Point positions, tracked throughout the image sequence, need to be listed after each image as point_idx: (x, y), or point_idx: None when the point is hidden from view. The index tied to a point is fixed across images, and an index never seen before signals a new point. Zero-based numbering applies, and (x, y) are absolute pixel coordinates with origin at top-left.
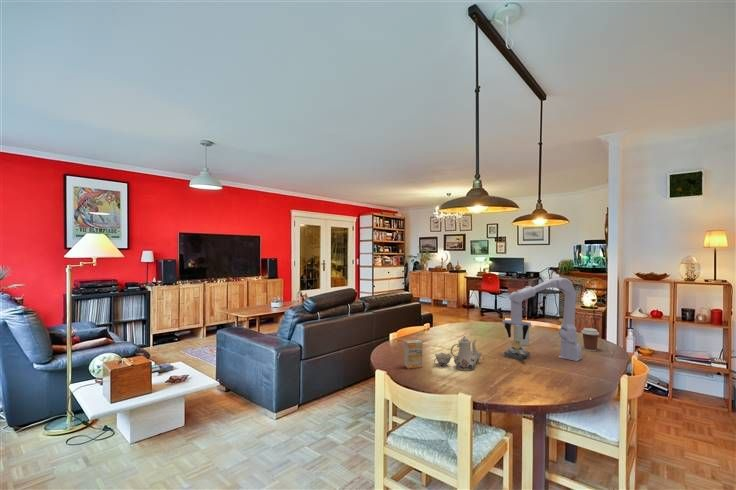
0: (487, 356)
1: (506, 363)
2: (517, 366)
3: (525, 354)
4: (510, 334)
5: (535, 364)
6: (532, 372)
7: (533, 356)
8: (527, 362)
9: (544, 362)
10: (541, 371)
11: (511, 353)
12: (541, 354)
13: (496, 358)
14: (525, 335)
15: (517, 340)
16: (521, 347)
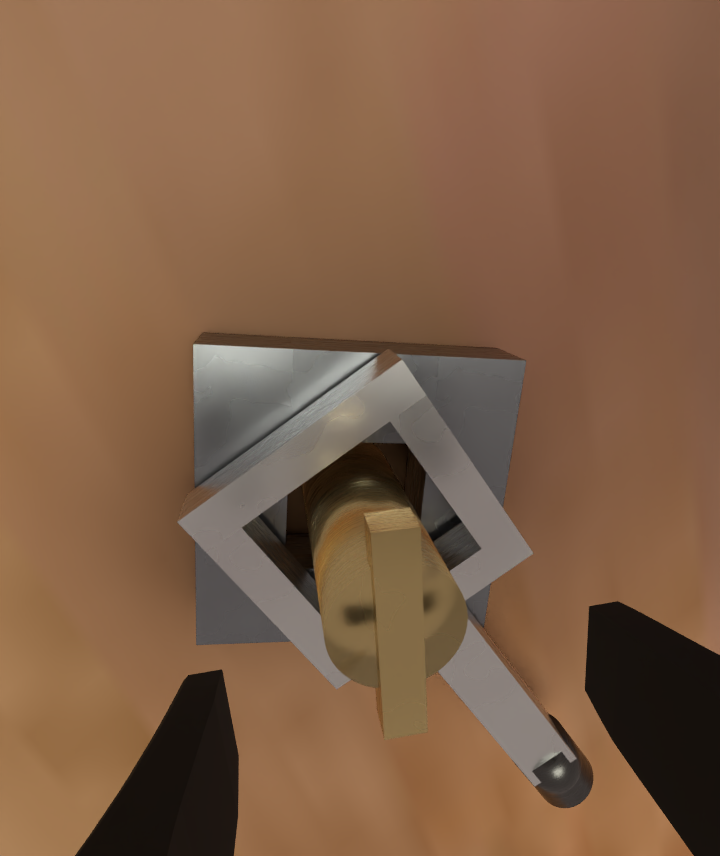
0: (26, 750)
1: (351, 810)
2: (479, 810)
3: None
4: (216, 753)
5: None
6: (634, 851)
7: (541, 314)
8: (533, 627)
9: (702, 493)
10: None
11: None
12: (627, 97)
13: None
14: (695, 663)
15: (424, 655)
16: (416, 429)
